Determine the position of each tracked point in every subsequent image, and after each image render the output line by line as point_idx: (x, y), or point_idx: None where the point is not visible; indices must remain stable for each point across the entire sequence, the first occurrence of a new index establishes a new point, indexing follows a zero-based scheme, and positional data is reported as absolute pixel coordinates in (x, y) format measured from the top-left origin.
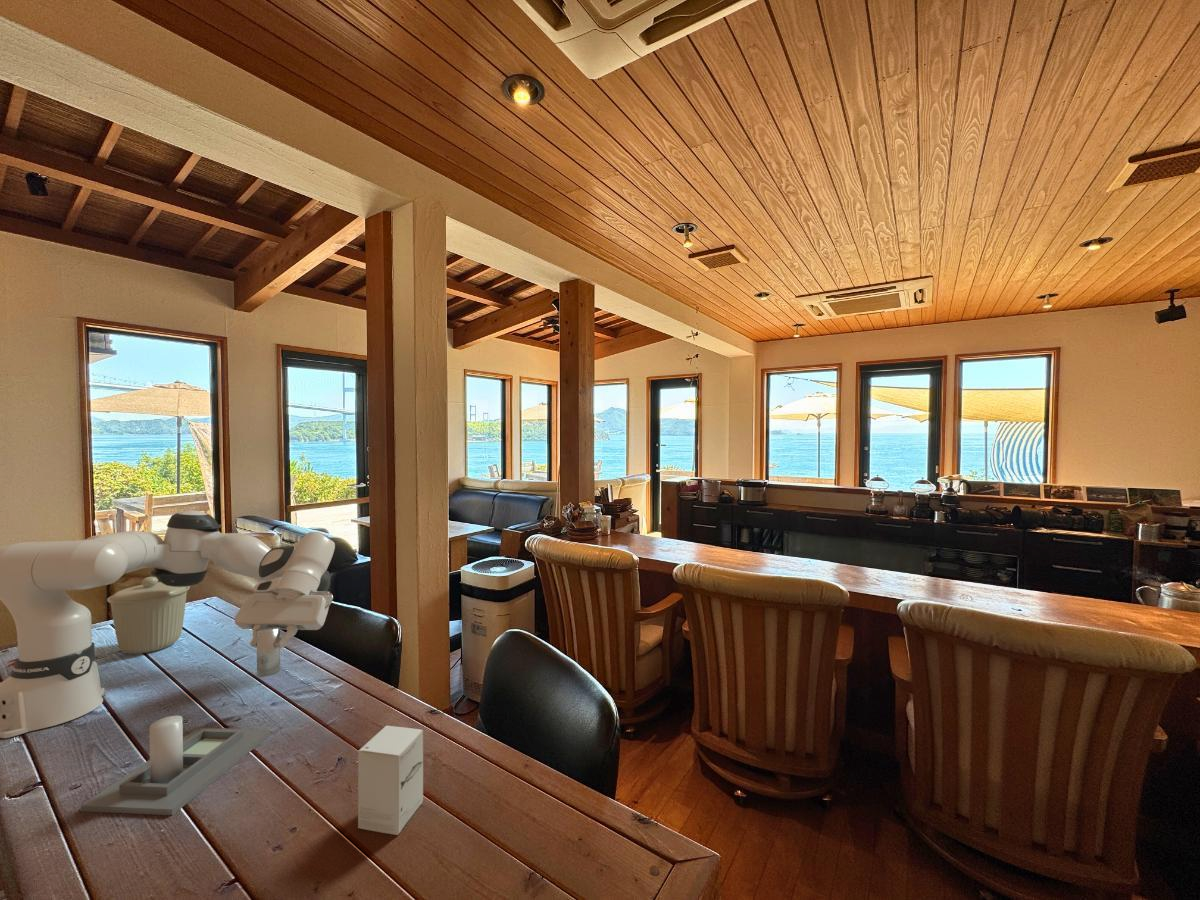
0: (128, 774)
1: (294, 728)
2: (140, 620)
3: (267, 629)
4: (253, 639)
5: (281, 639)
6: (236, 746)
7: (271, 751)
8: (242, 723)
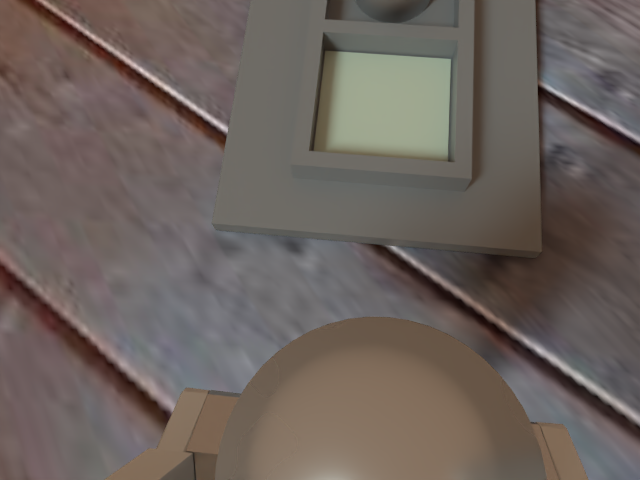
0: (531, 5)
1: (141, 270)
2: None
3: (377, 452)
4: (559, 461)
5: (182, 430)
6: (279, 124)
7: (156, 133)
8: (392, 317)
